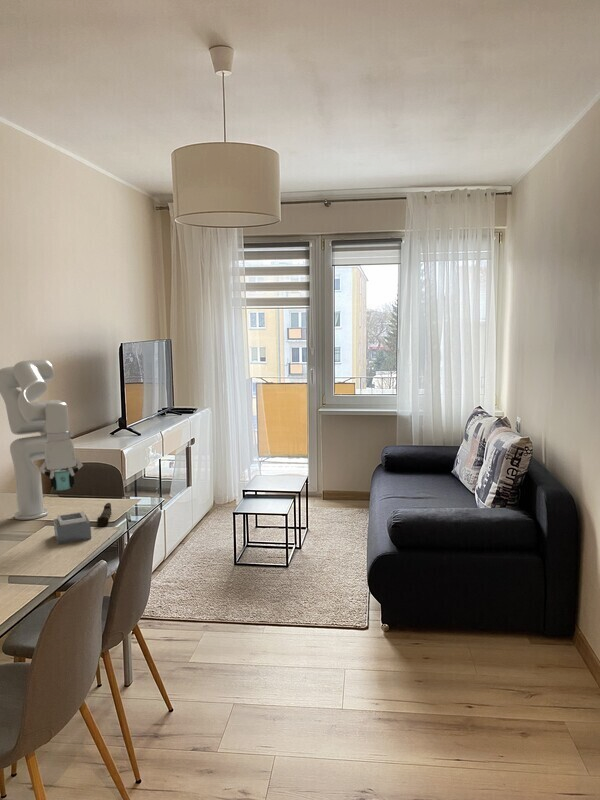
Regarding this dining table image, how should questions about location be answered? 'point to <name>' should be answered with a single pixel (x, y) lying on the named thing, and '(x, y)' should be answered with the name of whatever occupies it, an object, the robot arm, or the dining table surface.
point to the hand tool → (105, 515)
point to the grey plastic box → (72, 528)
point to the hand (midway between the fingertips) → (62, 487)
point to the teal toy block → (62, 480)
